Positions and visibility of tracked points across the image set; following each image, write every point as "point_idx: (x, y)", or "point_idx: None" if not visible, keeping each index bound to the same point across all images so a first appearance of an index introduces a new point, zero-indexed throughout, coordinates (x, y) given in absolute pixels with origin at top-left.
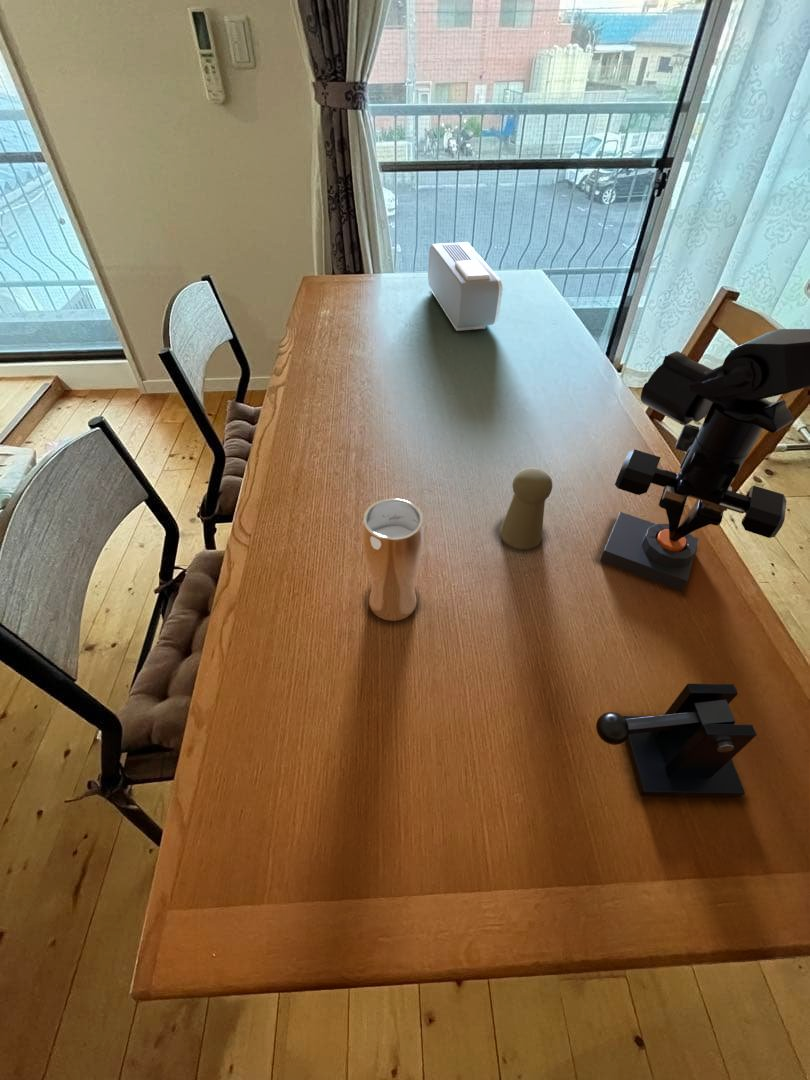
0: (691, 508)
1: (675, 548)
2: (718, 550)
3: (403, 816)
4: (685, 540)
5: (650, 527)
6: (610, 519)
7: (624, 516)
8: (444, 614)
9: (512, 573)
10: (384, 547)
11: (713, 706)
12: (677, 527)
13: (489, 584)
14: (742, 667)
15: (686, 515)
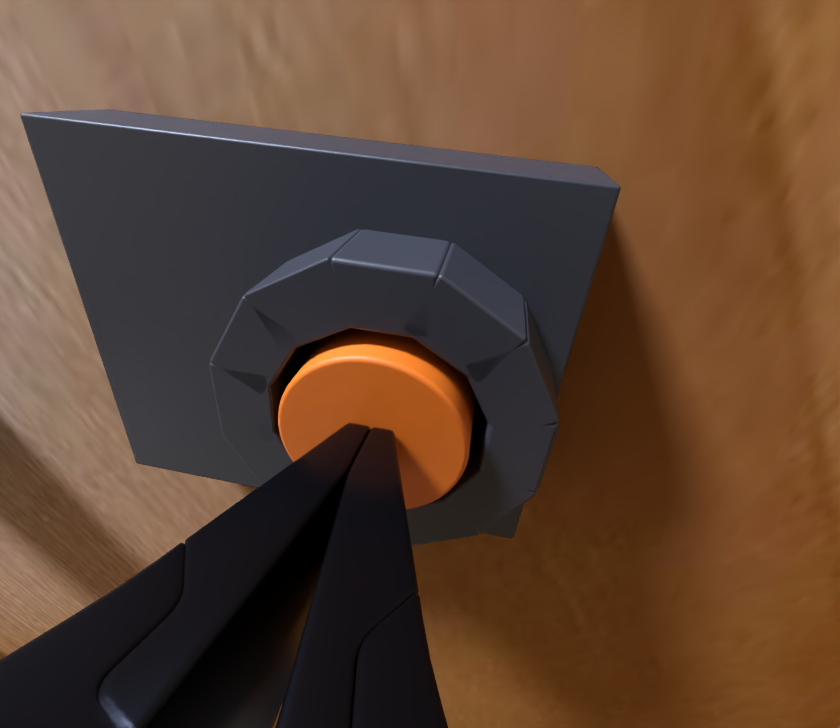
0: (278, 724)
1: None
2: (816, 91)
3: None
4: (459, 440)
5: (217, 352)
6: (71, 91)
7: (71, 160)
8: (8, 625)
9: (14, 520)
10: None
11: None
12: (279, 703)
13: (5, 557)
14: (686, 672)
15: (311, 602)
